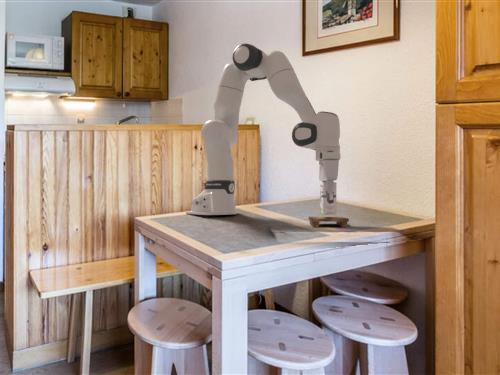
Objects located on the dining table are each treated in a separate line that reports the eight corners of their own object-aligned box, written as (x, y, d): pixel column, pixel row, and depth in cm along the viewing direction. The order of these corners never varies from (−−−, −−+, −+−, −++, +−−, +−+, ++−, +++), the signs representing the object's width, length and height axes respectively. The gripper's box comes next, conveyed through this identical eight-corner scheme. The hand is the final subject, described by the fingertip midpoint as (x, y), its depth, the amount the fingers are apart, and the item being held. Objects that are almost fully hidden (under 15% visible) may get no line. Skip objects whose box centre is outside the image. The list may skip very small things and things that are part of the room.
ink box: (319, 213, 168) (319, 182, 168) (332, 213, 168) (332, 182, 168) (323, 215, 159) (323, 182, 159) (337, 215, 159) (337, 182, 159)
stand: (312, 227, 158) (312, 218, 158) (308, 224, 169) (308, 216, 169) (348, 227, 158) (348, 218, 158) (342, 224, 169) (342, 216, 169)
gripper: (315, 157, 174) (315, 192, 174) (323, 153, 154) (323, 193, 154) (331, 157, 174) (331, 192, 174) (341, 153, 154) (341, 193, 154)
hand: (327, 193), depth 164 cm, fingers closed on ink box, 8 cm apart
